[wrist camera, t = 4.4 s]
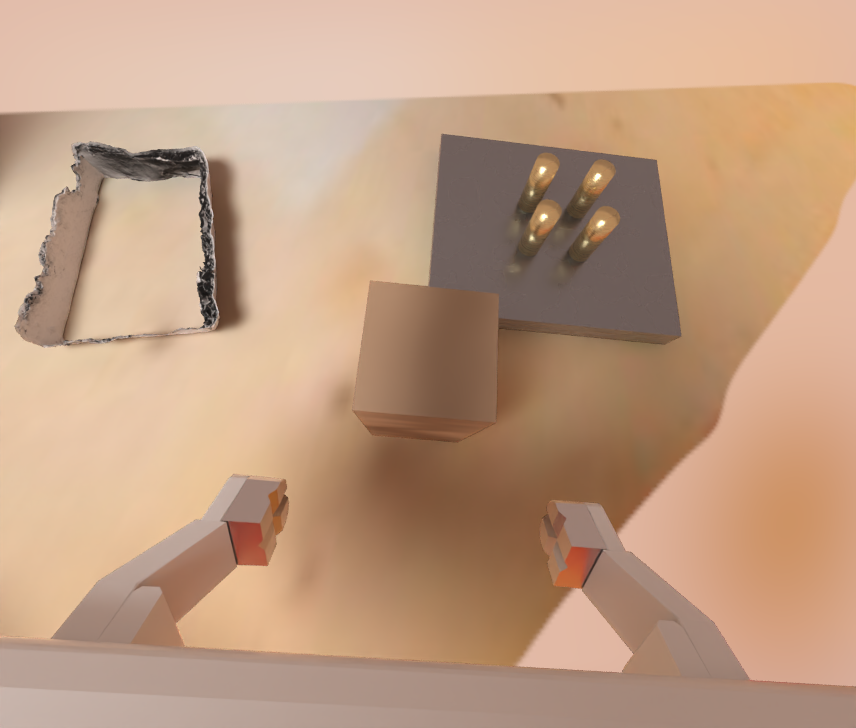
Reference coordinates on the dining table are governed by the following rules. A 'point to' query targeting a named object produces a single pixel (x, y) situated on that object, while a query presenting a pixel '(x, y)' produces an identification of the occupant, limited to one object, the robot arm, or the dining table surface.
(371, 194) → the dining table surface
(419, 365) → the walnut block
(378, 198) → the dining table surface
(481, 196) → the chassis plate
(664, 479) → the dining table surface
